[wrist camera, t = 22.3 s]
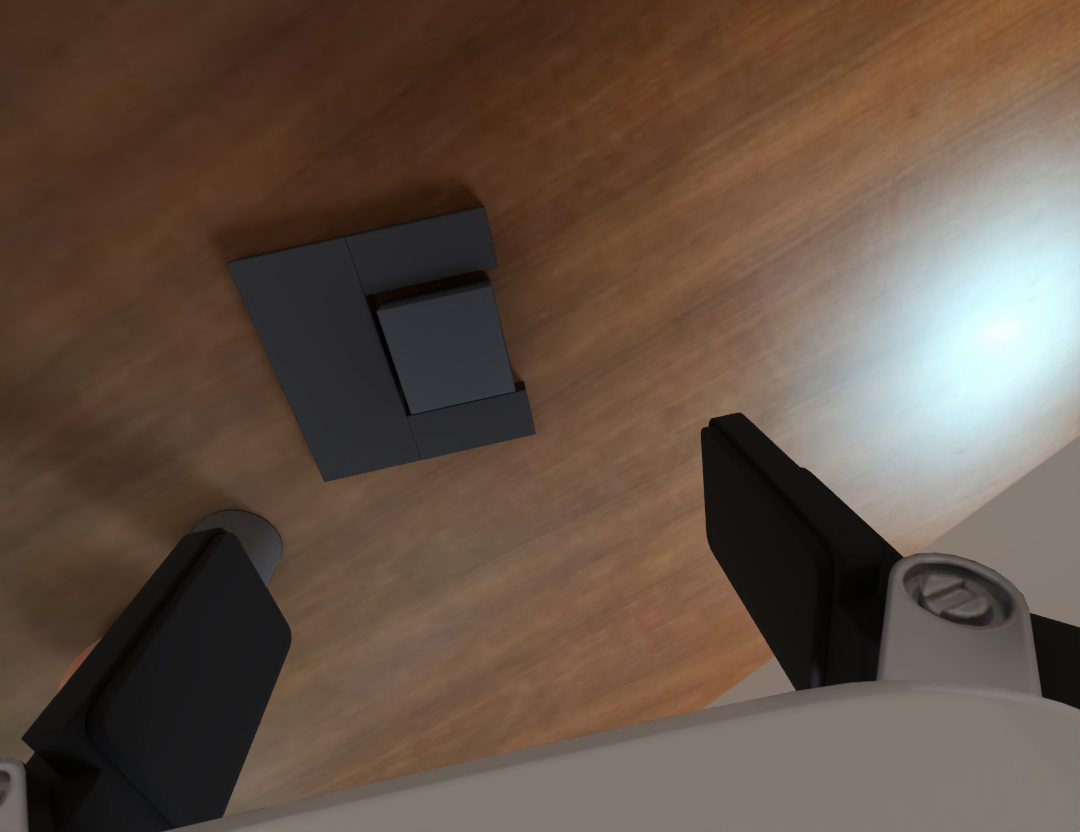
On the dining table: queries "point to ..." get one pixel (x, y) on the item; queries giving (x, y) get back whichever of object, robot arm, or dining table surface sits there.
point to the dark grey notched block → (368, 342)
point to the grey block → (447, 345)
